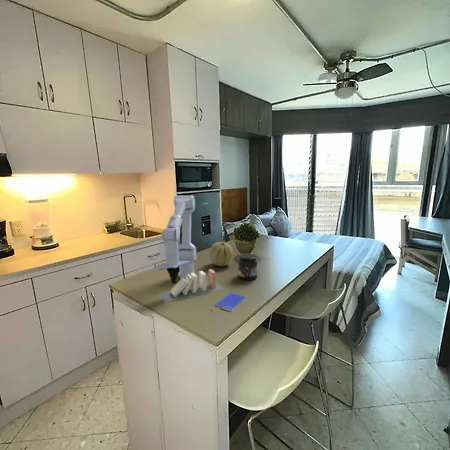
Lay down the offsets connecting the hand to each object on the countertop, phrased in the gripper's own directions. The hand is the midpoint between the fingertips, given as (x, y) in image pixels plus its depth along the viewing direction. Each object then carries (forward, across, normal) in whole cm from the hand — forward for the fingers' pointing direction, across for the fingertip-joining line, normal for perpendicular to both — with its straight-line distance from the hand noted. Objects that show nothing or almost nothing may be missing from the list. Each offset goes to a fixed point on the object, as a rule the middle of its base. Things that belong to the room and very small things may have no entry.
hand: (173, 282), depth 114 cm
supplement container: (+6, +41, +3) cm, 42 cm away
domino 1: (+5, -1, 0) cm, 5 cm away
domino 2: (+5, +4, 0) cm, 7 cm away
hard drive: (+7, +20, -17) cm, 27 cm away
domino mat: (+6, +8, 0) cm, 11 cm away
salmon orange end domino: (+6, +19, 0) cm, 20 cm away
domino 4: (+6, +14, 0) cm, 15 cm away
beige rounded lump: (+6, +36, +26) cm, 45 cm away
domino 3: (+6, +9, 0) cm, 11 cm away
